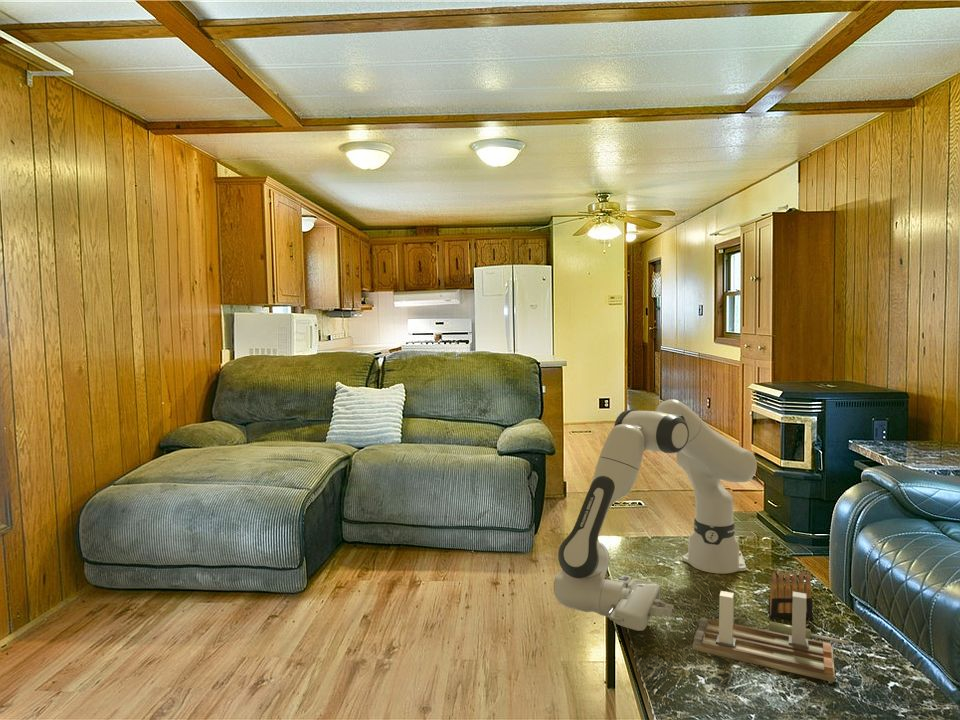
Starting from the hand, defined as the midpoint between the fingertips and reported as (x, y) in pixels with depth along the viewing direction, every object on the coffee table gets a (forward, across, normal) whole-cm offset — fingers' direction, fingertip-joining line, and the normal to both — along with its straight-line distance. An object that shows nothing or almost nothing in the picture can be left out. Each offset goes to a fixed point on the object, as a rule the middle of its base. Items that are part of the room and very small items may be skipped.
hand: (672, 611), depth 150 cm
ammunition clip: (+25, +25, +7) cm, 37 cm away
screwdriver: (+28, +14, +7) cm, 32 cm away
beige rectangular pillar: (+12, 0, +5) cm, 13 cm away
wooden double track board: (+20, +3, +7) cm, 21 cm away
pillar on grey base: (+27, +7, +5) cm, 29 cm away
